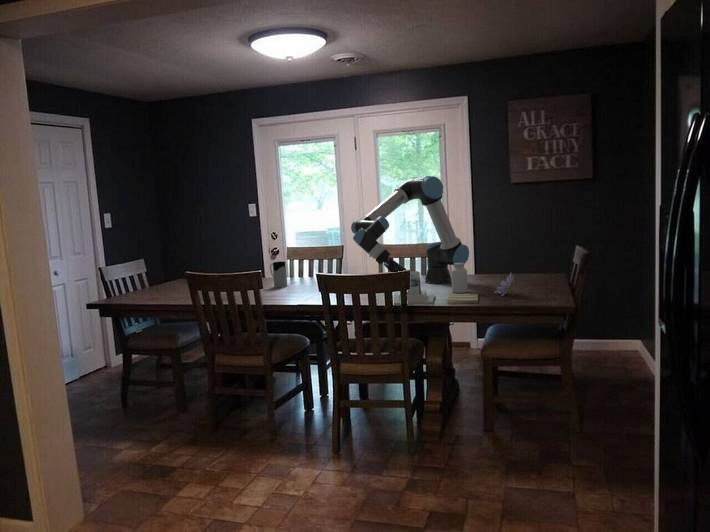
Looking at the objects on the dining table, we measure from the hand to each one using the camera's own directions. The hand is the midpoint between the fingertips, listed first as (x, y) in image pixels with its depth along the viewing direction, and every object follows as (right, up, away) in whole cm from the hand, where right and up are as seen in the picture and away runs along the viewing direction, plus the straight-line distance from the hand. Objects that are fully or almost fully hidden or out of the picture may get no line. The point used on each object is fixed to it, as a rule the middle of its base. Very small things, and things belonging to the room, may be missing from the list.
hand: (411, 283), depth 289 cm
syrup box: (+1, -9, +2) cm, 9 cm away
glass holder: (-75, -4, +73) cm, 104 cm away
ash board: (+24, -8, -3) cm, 26 cm away
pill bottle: (+26, -5, +18) cm, 32 cm away
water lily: (+46, -6, +3) cm, 47 cm away
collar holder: (+1, -9, +2) cm, 9 cm away
